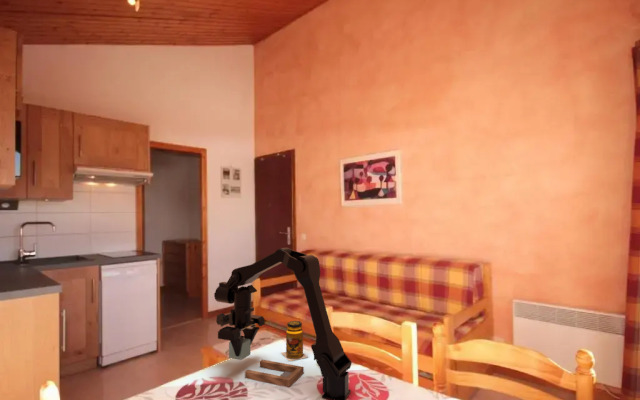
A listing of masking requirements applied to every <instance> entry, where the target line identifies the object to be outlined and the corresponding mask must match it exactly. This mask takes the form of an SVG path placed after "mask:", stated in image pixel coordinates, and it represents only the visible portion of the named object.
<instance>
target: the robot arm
mask: <svg viewBox="0 0 640 400" xmlns="http://www.w3.org/2000/svg"><path fill="white" fill-rule="evenodd" d="M280 264H283V266H285V267H286V268H287V269H289V270H291V271H292V272H293V274H294V276H295V279H296V281H297V282H298V283H299V284H300V286H301V287H302V288H303V290H304V295H305V299H306V303H307V306H308V310H309V314H310V317H311V322H312V325H313V330H314V334H315V342H314V343H312V344H310V345H311V351H312V353H313V361H315V362H316V364H317V366H318V367H319V371H320V374H321V376H322V393H323V394H322V395H321V397H322V399H326V400H347V398H348V397H349V395H350V394H351V389H349V375H350V374H349V372H350V371H349V370H350V369H351V366H352V361H351V359H350V358H349V357H348V355H347V354H346V353H345V351H344V348H343V345H342V343H341V340H340V339H339V338H338V336H337V335H336V334H335V332H333V330H332V326H331V322H330V319H329V314H328V312H327V307H326V304H325V301H324V296H323V292H322V289H321V286H320V279H321V266H320V265H321V264H320V261H319V258H318V257H317V256H315V255H312V254H305V253H304V252H300V251H297V250H293V249H292V248H289V247H281V248H278V249H276V251H274V252H272V253H270V254H268V255H266V256H265V257H263V258H261V259H259V260H257V261H256V262H255V261H254V262H253V263H251V264H248V265H245V266H241V267H237V268H234V269H232V271H231V275H230V277H229V278H228V280H227V281H221V282H219V283H218V286H217V287H216V289H215V292H214V294H213V296H214V297H213V298H214V300H215V301H216V302H217V303H222V304H230V305H233V308H231V309H230V310H229V311H230V312H229V313H224V312H222V313H220V314H219V313H218V314H217V315H216V322H215V323H216V324H217V325H218V326H219V327H222V328H220V329H219V330H218V331H217V339H218V340H224V341H229V342H231V344H232V346H233V349H234V352H235V355H236V356H239V355H240V352H241V348H242V344H243V340H244V338H245V339H250V347H251V346H252V343H253V342H254V340H255V337H256V335H257V333H258V331H259V330H260V327H262V326H264V325H265V323H266V322H265V318H264V316H263V315H256V314H252V312H254V311H255V307H252V294H253V293H257V292H258V290H257V289H256V287H255V286H254V285H253V284H252V283H253V282H254V281H256V280H257V279H258V278H259V276H261V275H262V274H263V273H265V272H267V271H269V270H270V269H272V268H274V267H277V266H279V265H280ZM248 284H249V285H248ZM246 285H247V286H246ZM228 324H229V326H228ZM225 325H226V326H225ZM257 325H258V326H257ZM223 326H225V327H223ZM242 333H243V335H242Z"/></svg>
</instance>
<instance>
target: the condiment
mask: <svg viewBox="0 0 640 400" xmlns="http://www.w3.org/2000/svg"><path fill="white" fill-rule="evenodd" d="M286 326H287V327H286V328H287V330H286V331H285V333H286V335H285V338H286V340H285V345H286V347H285V352H280V354H281V355H282V356H283V357H284V358H285V359H286V360H287V361H288V362H291V361H292V362H293V361H298V360H301V359H305V358H308V356H307V355H306V354H305V353H304V330H303V327H302V326H303V324H302V322H301V321H300V320H291V321H288V322H287V324H286Z"/></svg>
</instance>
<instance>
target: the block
mask: <svg viewBox="0 0 640 400" xmlns="http://www.w3.org/2000/svg"><path fill="white" fill-rule="evenodd" d="M248 356H251V346H250V339H245V338H244V340H243V344H242V348H241V352H240V355H239V356H236V355H235V352H234V349H233V346H232V344H231V342H230V341H229V342H228V358H229V359H234V360H240V361H242V360H244V359H246V358H248Z"/></svg>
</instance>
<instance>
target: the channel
mask: <svg viewBox="0 0 640 400" xmlns="http://www.w3.org/2000/svg"><path fill="white" fill-rule="evenodd" d="M259 368H262V369H267V370H272V371H279V372H282V373H283V372H285V371H286V372H292V373H291V374H290V375H289V376H288V377H283V376H280V375H277V374H273V373H268V372H262V371H258V370H257V371H256V370H252V369H246V370H245V371H244V379H248V380H252V381H257V382H263V383H266V384H267V383H268V384H272V385H276V386H277V385H278V386H282V387H285V388H286V387H287V388H290V387H291V386H292V385H293V384H294V383H295V382H296V381H297V380H298V379H299V378H301V377H302V376H303V374H304V368H305V367H304V366H301V365H295V364H289V363H284V362H278V361H272V360H267V359H263V358H262V359H261V360H260V361H259Z"/></svg>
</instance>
